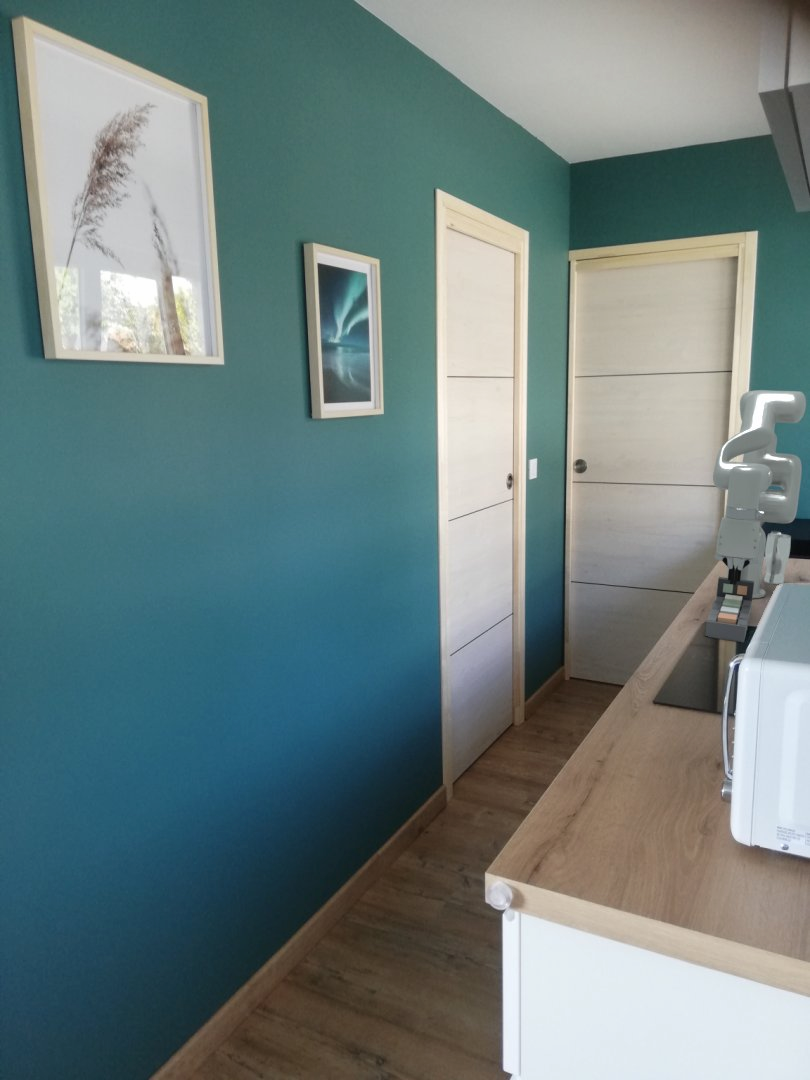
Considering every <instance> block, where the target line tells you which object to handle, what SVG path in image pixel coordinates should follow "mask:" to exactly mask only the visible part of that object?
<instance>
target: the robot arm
mask: <svg viewBox="0 0 810 1080" xmlns="http://www.w3.org/2000/svg"><path fill="white" fill-rule="evenodd" d="M806 408H807V400H806V396H805V394H804V393H803V392H802V391H798V390H797V391H796V390H795V391H794V390H766V389H758V390H757V389H756V390H750V391H747V392H744V393H743V394H742V395H741V397H740V399H739V413H740V420H741V426H740V429H739V432H738V433H737V434H734V435H733V436H732V437H731V438H729V439H728V440H726V442H725V443H724V444H723V445H722V446H721V447H720V449H719V450H718V453H717V455H716V460H715V462H714V463H715V464H714V468H713V472H712V473H713V475H712V481H713V484H714V487H716V488H717V489H719V490H725V491H727V498H726V505H725V507H726V508H725V516H723V517H721V520H720V525H719V529H718V534H717V541H716V545H715V546H716V548H715V549H716V550H715V553H714V555H713V557H714V559H715V560H717V561H718V562H719V561H720V562H722V563H724V565H726V568H727V569H726V570H727V571H726V578H728V580H730V584H733V583H734V585H737V581H739V582H740V579H741V580H749V581H754V589H753V597H752V599H760V598H761V599H762V598H764V597H765V596H766V591H765V589H763V588H762V587H761V585H762V578H763V577H762V575H763V569H764V560H765V548H766V541H767V536H766V533H765V531H764V529H763V528H762V526H761V523H765V522H766V523H773V524H774V523H775V524H790V523H792V522H793V521H794V520H795V518H796V515H797V512H798V505H799V499H800V498H799V496H800V489H801V481H802V472H803V471H802V470H803V467H802V461H801V458H800V457H799V456H798V455H796V454H792V453H791V454H790V453H778V452H777V451H776V450H777V443H778V436H777V434H776V433H775V426H776V423H783V424H784V423H785V424H798V423H799V422H800V421H801V420H802V419H803V417H804V414H805V411H806ZM741 455H742V456H743V457H742V461H741V462H740V461H731V460H733V459H734V458H737V457H739V456H741ZM771 486H772V487H779V488H780V489H775V488H774V489H772V488H770V487H771Z"/></svg>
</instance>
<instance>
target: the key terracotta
mask: <svg viewBox="0 0 810 1080" xmlns="http://www.w3.org/2000/svg"><path fill="white" fill-rule="evenodd" d="M717 622H722V623H729V624H736V622H737V615H733V614H726V613H719V615H718V621H717Z"/></svg>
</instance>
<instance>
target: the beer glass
mask: <svg viewBox="0 0 810 1080" xmlns="http://www.w3.org/2000/svg"><path fill="white" fill-rule="evenodd" d="M791 538H792V536H791V535H789V534H786V533H785V534H784V533H768V534H767V536H766V543H765V552H764V560H765V572H764V577H763V580H762V581H763V583H765V584H768V585H773V586H774V584H776V583H777V584H776V585H775V586H779V585H778V584H780V583H784V584H785V570H786V566H787V563H788V561H789V559H790V558H789V557H790V554H791V553H790V552H791V542H792V541H791V540H792V539H791Z"/></svg>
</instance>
